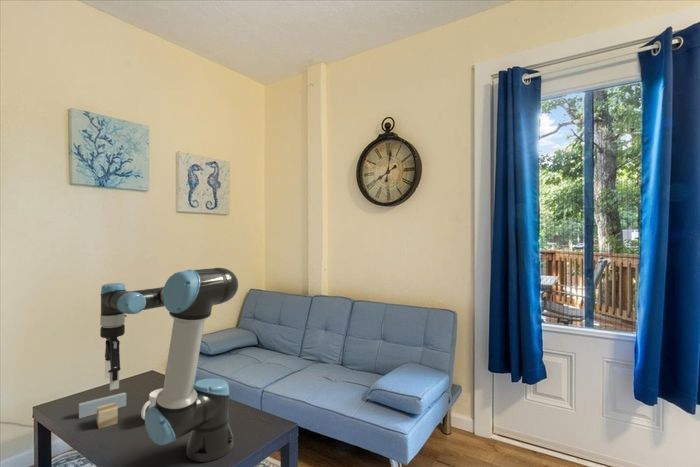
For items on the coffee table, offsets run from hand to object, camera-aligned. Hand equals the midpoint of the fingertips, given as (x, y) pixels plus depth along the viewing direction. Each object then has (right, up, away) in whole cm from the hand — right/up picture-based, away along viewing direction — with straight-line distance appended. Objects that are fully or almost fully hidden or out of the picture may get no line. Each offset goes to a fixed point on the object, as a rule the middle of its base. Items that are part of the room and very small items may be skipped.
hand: (111, 383), depth 130 cm
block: (-6, -18, +6) cm, 20 cm away
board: (-14, -18, +15) cm, 28 cm away
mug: (+12, -19, +9) cm, 24 cm away
